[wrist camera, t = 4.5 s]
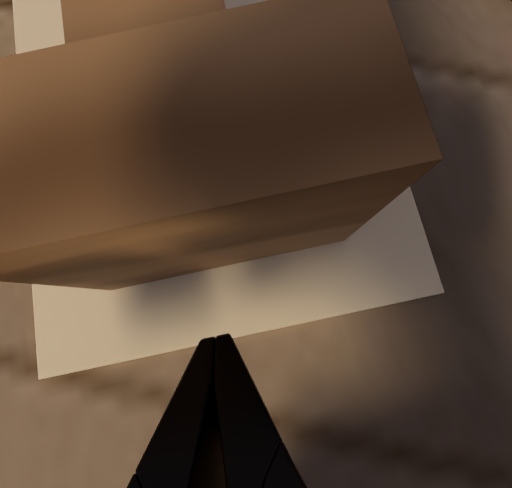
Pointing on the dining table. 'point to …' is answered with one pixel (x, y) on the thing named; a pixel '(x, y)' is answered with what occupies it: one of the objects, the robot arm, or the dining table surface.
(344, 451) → the dining table surface
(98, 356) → the mat
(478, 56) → the dining table surface
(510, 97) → the dining table surface
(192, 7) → the t block
